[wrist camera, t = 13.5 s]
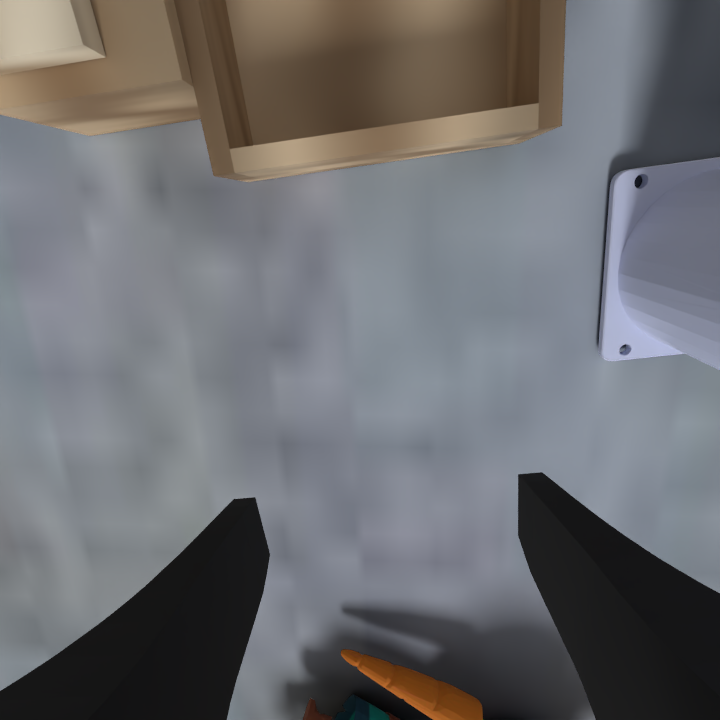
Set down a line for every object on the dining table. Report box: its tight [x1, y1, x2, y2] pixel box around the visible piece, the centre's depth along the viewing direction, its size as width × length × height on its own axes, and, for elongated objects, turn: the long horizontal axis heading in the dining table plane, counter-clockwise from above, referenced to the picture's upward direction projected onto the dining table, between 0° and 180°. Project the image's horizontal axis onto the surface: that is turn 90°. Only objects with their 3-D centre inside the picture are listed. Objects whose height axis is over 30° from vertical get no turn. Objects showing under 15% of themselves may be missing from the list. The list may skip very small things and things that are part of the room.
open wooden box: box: [0, 0, 566, 182], centre depth 13 cm, size 17×9×5 cm, turn 97°
